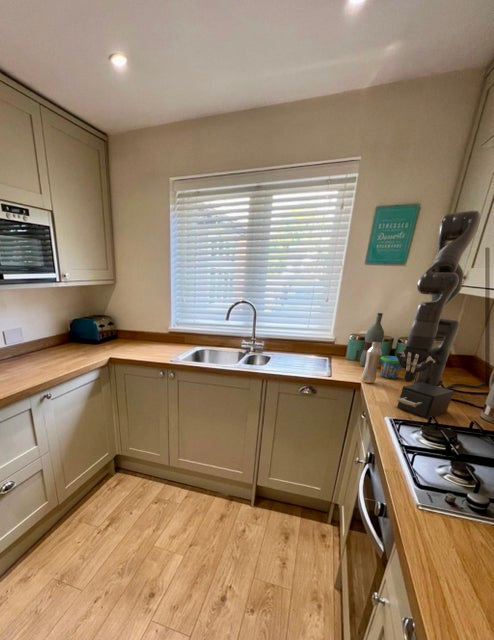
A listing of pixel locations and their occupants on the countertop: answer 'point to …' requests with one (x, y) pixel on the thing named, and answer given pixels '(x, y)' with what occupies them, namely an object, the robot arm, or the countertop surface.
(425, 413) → the drawer
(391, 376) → the snack cup
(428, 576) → the countertop surface
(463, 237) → the robot arm
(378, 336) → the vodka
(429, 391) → the cabinet
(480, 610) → the countertop surface
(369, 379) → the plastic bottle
